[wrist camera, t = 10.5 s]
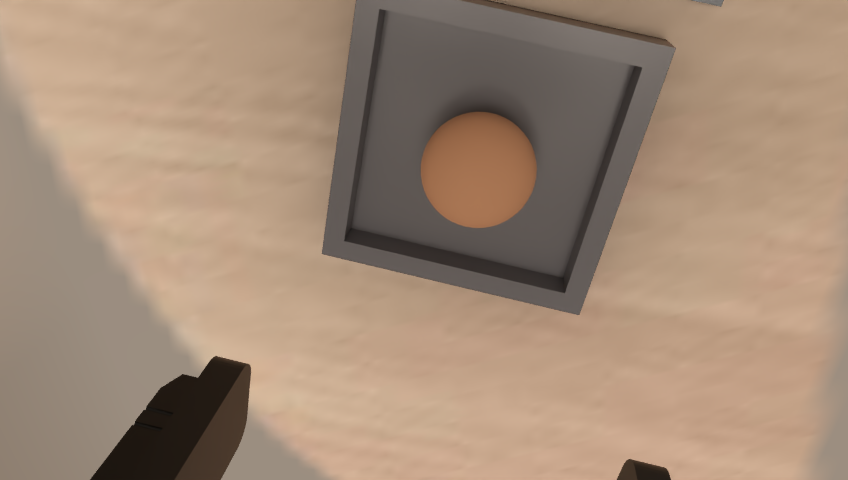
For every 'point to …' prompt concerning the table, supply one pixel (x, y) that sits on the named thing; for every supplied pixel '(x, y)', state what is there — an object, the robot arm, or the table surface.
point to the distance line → (711, 2)
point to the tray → (503, 95)
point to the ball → (478, 169)
